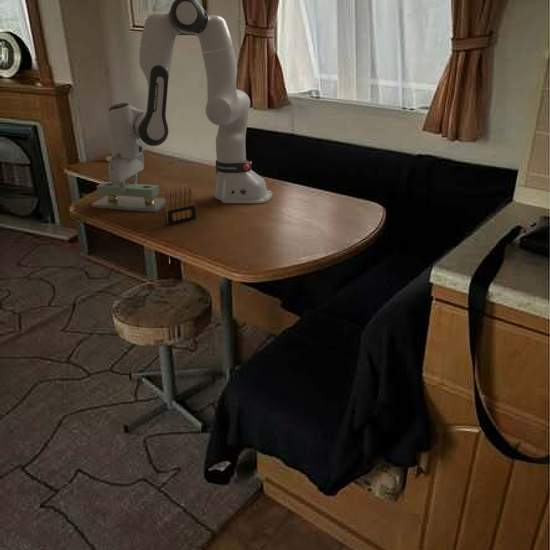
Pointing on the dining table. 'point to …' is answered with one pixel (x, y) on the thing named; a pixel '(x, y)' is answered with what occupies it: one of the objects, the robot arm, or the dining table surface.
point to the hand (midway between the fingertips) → (129, 188)
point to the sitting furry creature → (108, 158)
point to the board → (128, 190)
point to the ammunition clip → (179, 207)
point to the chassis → (131, 203)
